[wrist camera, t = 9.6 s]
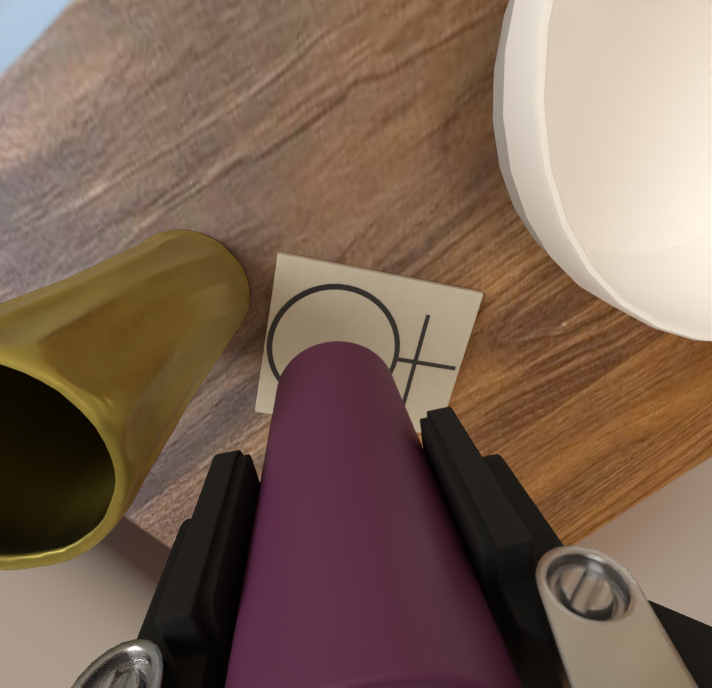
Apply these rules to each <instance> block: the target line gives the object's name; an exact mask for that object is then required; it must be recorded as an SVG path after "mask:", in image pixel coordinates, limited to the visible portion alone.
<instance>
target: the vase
mask: <svg viewBox="0 0 712 688" xmlns="http://www.w3.org/2000/svg"><path fill="white" fill-rule="evenodd" d="M249 304H250V292H249V284H248V280H247V277H246V274H245V272H244V270H243V268H242V267H241V265H240V263H239V262H238V261H237V259H236V258H235V257H234V256H233V255H232V254H231V253H230V252H229V251H228V250H227V249H226V248H225V247H224V246H223V245H222V244H221V243H219V242H217V241H216V240H214V239H212V238H210V237H208V236H205V235H203V234H200V233H197V232H193V231H188V230H172V231H166V232H162V233H159V234H156V235H153V236H151V237H149V238H148V239H146V240H145V241H143V242H142V243H141V244H140V245H137V246H135V247H133V248H131V249H129V250H126V251H124V252H122V253H120V254H118V255H116V256H113V257H111V258H109V259H107V260H105V261H103V262H101V263H99V264H97V265H95V266H93V267H91V268H88V269H86V270H83V271H81V272H79V273H77V274H75V275H73V276H71V277H69V278H67V279H64V280H62V281H59V282H57V283H54V284H51V285H49V286H46V287H43V288H41V289H38V290H35V291H33V292H30V293H27V294H25V295H22V296H19V297H17V298H14V299H12V300H9V301H6V302H3V303H1V304H0V570H19V569H27V568H34V567H41V566H47V565H53V564H57V563H60V562H64V561H68V560H71V559H73V558H75V557H77V556H79V555H81V554H83V553H85V552H86V551H88V550H89V549H91V548H93V547H94V546H95V545H96V544H98V542H100V541H101V540H103V539H104V538H105V537H106V536H107V535H108V534H109V533H110V532H111V531H112V530H113V529H114V527H115V526H116V524H117V523H118V522H119V521H120V519H121V518H122V517H123V515H124V514H125V513H126V511H127V510H128V509H129V507H130V506H131V504H132V503H133V501H134V499H135V497H136V495H137V493H138V491H139V490H140V488H141V486H142V484H143V482H144V480H145V478H146V477H147V475H148V473H149V472H150V470H151V468H152V466H153V465H154V463H155V461H156V460H157V458H158V456H159V455H160V453H161V451H162V449H163V447H164V446H165V444H166V442H167V440H168V439H169V437H170V436H171V434H172V432H173V431H174V429H175V427H176V425H177V424H178V422H179V420H180V418H181V416H182V415H183V413H184V411H185V410H186V408H187V406H188V405H189V403H190V401H191V400H192V398H193V397H194V395H195V393H196V392H197V390H198V389H199V387H200V385H201V384H202V382H203V381H204V379H205V378H206V376H207V375H208V373H209V372H210V370H211V369H212V367H213V366H214V364H215V362H216V361H217V359H218V358H219V356H220V355H221V353H222V352H223V351H224V349H225V348H226V346H227V345H228V343H229V342H230V340H231V338H232V337H233V335H234V334H235V332H236V331H237V330H238V329H239V328H240V327H241V326H242V324H243V322H244V320H245V317H246V314H247V312H248V308H249Z"/></svg>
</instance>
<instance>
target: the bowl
mask: <svg viewBox="0 0 712 688" xmlns="http://www.w3.org/2000/svg"><path fill="white" fill-rule="evenodd" d="M493 127H494V134H495V140H496V147H497V154H498V160H499V167H500V170H501V173H502V176H503V179H504V181H505V184H506V187H507V190H508V193H509V196H510V198H511V201H512V204H513V207H514V208H515V210H516V212H517V213H518V215H519V217H520V218H521V220H522V221H523V223H524V225H525V226H526V228H527V230H528V231H529V233H530V235H531V236H532V238H533V239H534V240H535V241H536V242H537V243H538V244H539V245H540V246H541V247H542V248H543V249H544V250H545V251H546V252H547V253H548V254H549V256H550V257H551V258H552V259H553V260H554V261H555V262H556V263H557V264H558V265H559V266H560V267H561V268H562V269H563V270H564V271H565V272H566V273H567V274H568V275H569V276H570V277H571V278H572V279H573V280H574V281H575V282H576V283H577V284H578V285H579V286H580V287H582V288H583V289H585V290H587V291H588V292H590V293H592V294H593V295H595V296H597V297H598V298H600V299H602V300H603V301H605V302H607V303H608V304H610V305H611V306H613V307H615V308H617V309H619V310H621V311H623V312H624V313H626V314H628V315H630V316H632V317H634V318H636V319H637V320H639V321H641V322H643V323H645V324H647V325H649V326H650V327H652V328H656V329H659V330H662V331H665V332H669V333H672V334H675V335H678V336H682V337H685V338H688V339H692V340H700V341H712V0H509V3H508V6H507V8H506V11H505V14H504V19H503V24H502V30H501V35H500V40H499V46H498V51H497V56H496V62H495V67H494V89H493Z"/></svg>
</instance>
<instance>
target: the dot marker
mask: <svg viewBox="0 0 712 688" xmlns="http://www.w3.org/2000/svg"><path fill="white" fill-rule="evenodd" d="M224 688H523V686H522V683H521V681H520V678H519V676H518V674H517V671H516V669H515V667H514V664H513V662H512V659H511V657H510V655H509V652H508V650H507V647H506V645H505V643H504V640H503V638H502V636H501V633H500V631H499V628H498V626H497V624H496V621H495V619H494V617H493V614H492V612H491V609H490V607H489V605H488V602H487V600H486V597H485V595H484V593H483V590H482V588H481V586H480V583H479V581H478V578H477V576H476V574H475V571H474V569H473V567H472V564H471V562H470V559H469V557H468V555H467V552H466V550H465V547H464V545H463V543H462V540H461V538H460V536H459V533H458V531H457V528H456V526H455V524H454V521H453V519H452V517H451V514H450V512H449V509H448V507H447V505H446V502H445V500H444V498H443V495H442V493H441V490H440V488H439V486H438V483H437V481H436V478H435V476H434V474H433V471H432V469H431V467H430V464H429V462H428V459H427V457H426V455H425V452H424V450H423V448H422V445H421V443H420V440H419V438H418V436H417V433H416V431H415V428H414V426H413V424H412V421H411V419H410V417H409V414H408V412H407V409H406V407H405V405H404V402H403V400H402V398H401V395H400V393H399V390H398V388H397V386H396V383H395V381H394V378H393V376H392V374H391V371H390V370H389V368H388V366H387V365H386V363H385V362H384V361H383V360H382V359H381V358H380V357H379V356H378V355H377V354H376V353H374V352H373V351H371V350H370V349H368V348H366V347H364V346H361V345H359V344H355V343H351V342H344V341H331V342H324V343H320V344H317V345H314V346H312V347H309V348H307V349H306V350H304V351H302V352H301V353H299V354H298V355H297V356H295V357H294V358H293V359H292V360H291V361H290V362H289V363H288V365H287V366H286V367H285V369H284V371H283V372H282V374H281V376H280V379H279V381H278V386H277V390H276V396H275V402H274V407H273V413H272V419H271V424H270V430H269V436H268V442H267V447H266V453H265V459H264V464H263V470H262V476H261V482H260V487H259V493H258V499H257V504H256V510H255V516H254V522H253V527H252V533H251V539H250V544H249V550H248V556H247V562H246V567H245V573H244V579H243V584H242V590H241V596H240V602H239V607H238V613H237V619H236V624H235V630H234V636H233V642H232V647H231V653H230V659H229V664H228V670H227V676H226V682H225V687H224Z"/></svg>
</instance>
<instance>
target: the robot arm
mask: <svg viewBox="0 0 712 688" xmlns="http://www.w3.org/2000/svg"><path fill="white" fill-rule="evenodd" d="M420 427H421V434H422V442H423V449H424V452H425V455H426V457H427V459H428V462H429V464H430V467H431V469H432V471H433V474H434V476H435V478H436V481H437V483H438V486H439V488H440V490H441V493H442V495H443V498H444V500H445V502H446V505H447V507H448V509H449V512H450V514H451V517H452V519H453V521H454V524H455V526H456V528H457V531H458V533H459V536H460V538H461V540H462V543H463V545H464V547H465V550H466V552H467V555H468V557H469V559H470V562H471V564H472V567H473V569H474V571H475V574H476V576H477V578H478V581H479V583H480V586H481V588H482V590H483V593H484V595H485V597H486V600H487V602H488V605H489V607H490V609H491V612H492V614H493V617H494V619H495V621H496V624H497V626H498V628H499V631H500V633H501V636H502V638H503V640H504V643H505V645H506V647H507V650H508V652H509V655H510V657H511V659H512V662H513V664H514V667H515V669H516V671H517V674H518V676H519V678H520V681H521V683H522V686H523V688H712V627H711V626H709V625H706V624H704V623H702V622H699V621H697V620H695V619H692V618H690V617H687V616H685V615H682V614H680V613H678V612H675V611H673V610H671V609H668V608H666V607H664V606H661V605H659V604H656V603H654V602H652V601H649V600H647V598H646V597H645V595H644V593H643V592H642V590H641V588H640V586H639V585H638V583H637V582H636V580H635V579H634V578H633V576H632V575H631V574H630V572H629V571H628V570H627V569H626V568H625V567H624V566H622V565H621V564H620V563H619V562H617V561H616V560H615V559H613V558H611V557H610V556H608V555H606V554H604V553H602V552H600V551H598V550H594V549H591V548H587V547H584V546H572V545H567V546H564V545H563V544H562V543H561V541H560V540H559V538H558V537H557V535H556V534H555V533H554V531H553V530H552V528H551V527H550V525H549V524H548V522H547V521H546V520H545V518H544V517H543V515H542V514H541V512H540V511H539V510H538V508H537V507H536V505H535V504H534V502H533V501H532V499H531V498H530V497H529V495H528V494H527V492H526V491H525V489H524V488H523V487H522V485H521V484H520V482H519V481H518V479H517V478H516V476H515V475H514V474H513V472H512V471H511V469H510V468H509V466H508V465H507V463H506V462H505V461H504V459H503V458H502V457H501V456H500V455H498V454H495V455H490V456H485V457H482V456H481V455H480V453H479V451H478V450H477V448H476V447H475V445H474V443H473V442H472V440H471V439H470V437H469V435H468V434H467V432H466V431H465V429H464V427H463V426H462V424H461V422H460V421H459V419H458V418H457V416H456V414H455V413H454V411H453V410H452V408H451V407H444V408H439V409H434V410H430V411H427V417H426V418H421V419H420ZM259 487H260V482H259V479H258V476H257V473H256V470H255V467H254V464H253V461H252V458H251V456H250V455H249V454H248V455H243V454H242V452H241V451H240V450H236V451H232V452H227V453H222V454H217V455H215V456H214V458H213V461H212V463H211V466H210V469H209V472H208V474H207V477H206V480H205V483H204V485H203V488H202V491H201V494H200V496H199V499H198V502H197V505H196V507H195V510H194V513H193V516H192V518H191V519H187V520H185V521H184V522H183V523H182V525H181V527H180V529H179V531H178V534H177V537H176V539H175V542H174V544H173V547H172V550H171V552H170V555H169V557H168V560H167V563H166V565H165V568H164V570H163V573H162V575H161V578H160V581H159V583H158V586H157V589H156V592H155V594H154V596H153V599H152V601H151V604H150V606H149V609H148V612H147V615H146V617H145V620H144V622H143V625H142V627H141V630H140V632H139V635H138V638H137V639H135V640H131V641H127V642H123V643H121V644H119V645H117V646H115V647H113V648H111V649H110V650H108V651H106V652H105V653H104V654H102V655H101V656H100V657H98V658H97V659H96V660H95V661H93V662H92V663H91V664H90V665H89V666H88V667H87V668H86V669H85V671H84V672H83V673H82V674H81V675H80V676H79V677H78V678H77V680H76V681H75V683H74V684H73V686H72V687H71V688H224V687H225V682H226V676H227V670H228V664H229V659H230V653H231V647H232V642H233V636H234V630H235V624H236V619H237V613H238V607H239V602H240V596H241V590H242V584H243V579H244V573H245V567H246V562H247V556H248V550H249V544H250V539H251V533H252V527H253V522H254V516H255V510H256V504H257V499H258V493H259Z"/></svg>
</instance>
